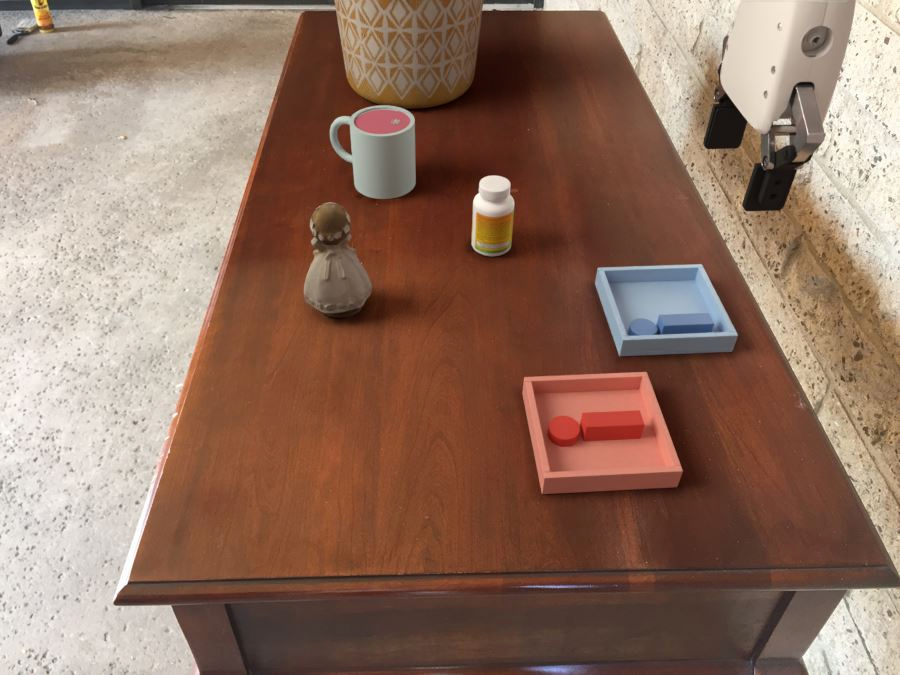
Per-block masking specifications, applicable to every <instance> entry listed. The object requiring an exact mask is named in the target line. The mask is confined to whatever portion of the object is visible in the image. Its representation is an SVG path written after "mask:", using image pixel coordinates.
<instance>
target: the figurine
mask: <svg viewBox="0 0 900 675" xmlns="http://www.w3.org/2000/svg"><path fill="white" fill-rule="evenodd" d="M309 228H310V231H311V234H312V235H313V238H312V239H311V240H310V244H311V246H313V248H316V249H314V250H313V252H312V255H313V260H312V262H311V263H310V265H309V269H308V271H307V273H306V277H305V281H304V284H303V297H304V301H305V302H306V304H308V305H310V306H311V307H312V308H314V309H315V310H317V311H319V312H320V313H321V314H322V315H323V316H324V317H325V316H326V317H327V318H331V319H343V320H344V319H349V318H351V317H355V316H356V315H357V314H359V313H360V312H361V311H362V308H363V307H364V306H365V303H366V301H367V300H368V298H369V297H370V296H371V294H372V290H373V284H372V282H371V279H370V277H369V274H368V273H367V271H366V269H365V267H364V266H363V265H362V263H361V261H360V260H359V258H358V256H357V249H356V248H353V247H350V246H349V245H348V244H349V242H350V241H351V239H352V235H351V233H350V232H351V230H352V224H351V217H350V214H349V213H348V211H347V210H346V209H345V207H344V206H342V205H340V204H338V203H336V202H332V201H329V202H325V203H322V204H321V205H319V206H317V207H316V208H315V210H314V212H313V213H312V215H311V216H310V220H309Z"/></svg>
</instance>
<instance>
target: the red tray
mask: <svg viewBox="0 0 900 675" xmlns="http://www.w3.org/2000/svg"><path fill="white" fill-rule="evenodd" d="M522 399H523V404H524V409H525V414H526V420H527V425H528V430H529V435H530V440H531V446H532V451H533V457H534V460H535V465H536V466H535V467H536V471H537V476H538V482H539V487H540V490H541V494H542V495H554V494H555V495H556V494H573V493H574V494H575V493H592V492H593V493H595V492H610V491H611V492H613V491H630V490H632V491H633V490H650V489H669V488H671V489H672V488H678V486H679V484H680V480H681V478H682V476H683V472H684V469H683V467H682V464H681V462H680V459H679V456H678V453H677V451H676V448H675V446H674V443H673V440H672V437H671V435H670V434H671V433H670V432H669V429H668V426H667V424H666V421H665V417H664V415H663V413H662V409H661V406H660V405H659V404H660V403H659V402H658V399H657V397H656V393H655V390H654V388H653V384H652V382H651V380H650V377H649V374H648V372H647V371H636V372H611V373H610V372H609V373H589V374H587V373H585V374H563V375H562V374H561V375H539V376H524V377H523V385H522ZM634 410H640V413H641V415H642V418H643V421H644V424H645V425H644V429H643V432H642V436H641V438H640V439H619V440H598V441H583V438H582V434H581V430H580V433H579V438H578V441H577V442H576V443H575V444H574V445H572V446H568V447H562V446H558V445H556V444H554V443H553V442H551V440H550V439H549V437H548V426H549V422H550V421H551V420H552V419H553V418H554V417H557V416H569V417H571V418H573V419H575V420H576V421H577V422H578V424H579V426H580V423H581V418H582V413H589V412H611V411H634Z"/></svg>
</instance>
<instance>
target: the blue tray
mask: <svg viewBox="0 0 900 675" xmlns="http://www.w3.org/2000/svg"><path fill="white" fill-rule="evenodd" d="M594 285H595V288H596V292H597V294H598V297H599V300H600V303H601V307H602V310H603V312H604V315H605V318H606V322H607V324H608V327H609V330H610V333H611V336H612V339H613V342H614V345H615V348H616V350H617V353H618V354H617V355H618V356H619V357H635V356H636V357H637V356H638V357H639V356H661V355H662V356H664V355H685V354H706V353H707V354H709V353H713V354H714V353H733V352H734V348H735V344H736V343H737V340H738V338H739V334H738V332H737V330H736V327H735V326H734V324H733V323H732V320H731V318H730V317H729V315H728V312H727V311H726V309H725V307H724V305H723V302H722V300H721V299H720V297H719V295H718V293H717V291H716V289H715V287H714V285H713V284H712V281H711V279H710V277H709V276H708V273H707V272H706V270H705V268H704V265H703V264H702V263H698V264H693V263H692V264H663V265H662V264H661V265H635V266H634V265H633V266H606V267H605V266H603V267H597V270H596V275H595V279H594ZM690 313H709V314H710V316H711V318H712V320H713V322H714V326H713V329H712V332H711V333H689V334H664V335H658V333H657V334H656V335H638V336H629V335H628V330H629V326H630V323H631V322H632V321H633V320H635V319H638V318H644V319H648V320H650V321H652V322H653V323H655V324H656V325H657V321H658V317H659V315H663V314H690Z"/></svg>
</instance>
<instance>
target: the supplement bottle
mask: <svg viewBox="0 0 900 675" xmlns="http://www.w3.org/2000/svg"><path fill="white" fill-rule="evenodd" d="M511 187H512V186H511V181H510V180H509V179H508V178H506V177H504V176H501V175H497V174H495V175H493V174H492V175H487V176H484V177H483V178H481V179H480V180H479V183H478V193H477V194H475V196H474V198H473V200H472V216H471V217H472V218H471V247H472V249H473V250H474V251H475V252H476V253H478V254H479V255H482V256H486V257H499V256H502V255H505V254H506V253H508V252H509V251H510V249H511V248H512V241H513V228H514V226H513V225H514V214H515V199H514V198H513V196H512V194H511Z"/></svg>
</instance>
